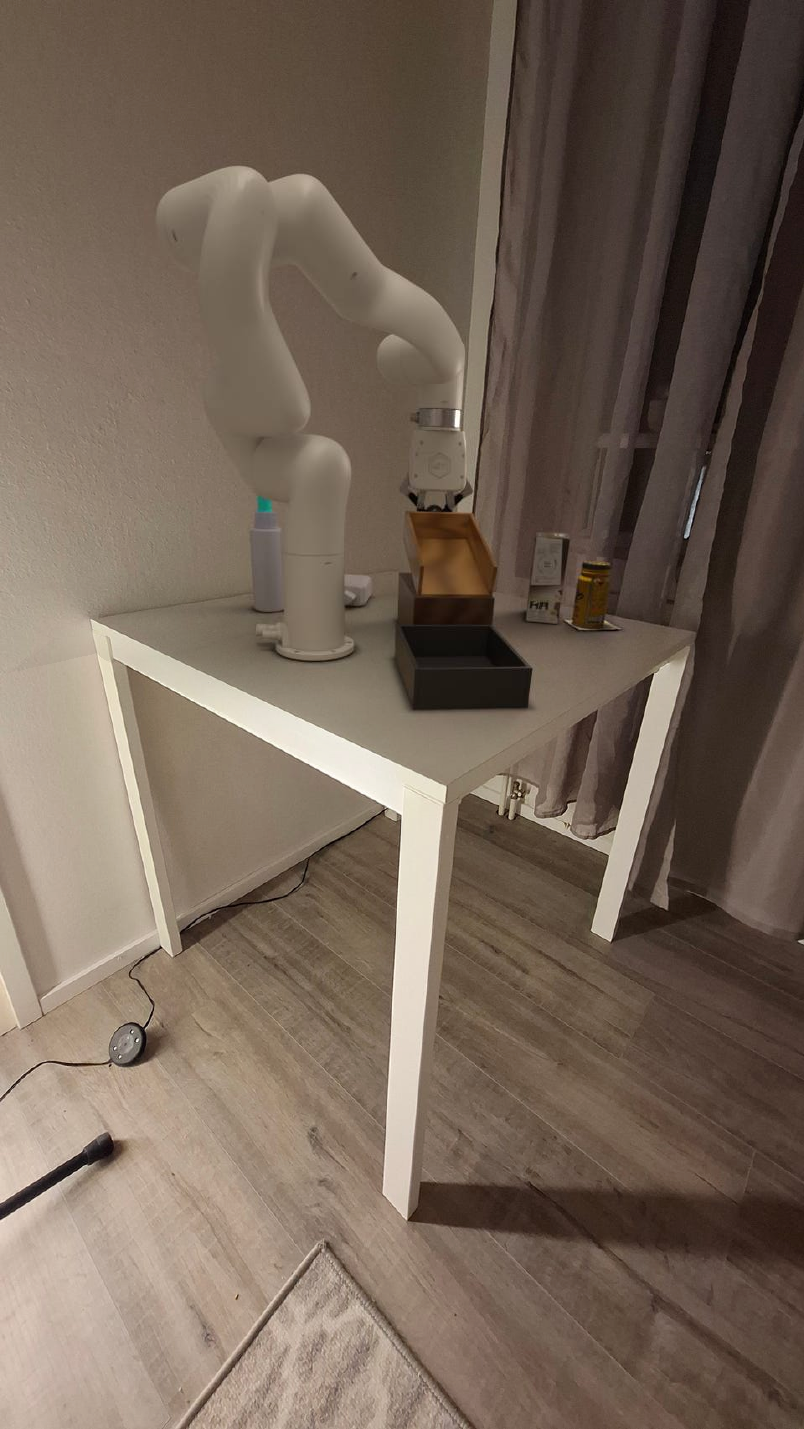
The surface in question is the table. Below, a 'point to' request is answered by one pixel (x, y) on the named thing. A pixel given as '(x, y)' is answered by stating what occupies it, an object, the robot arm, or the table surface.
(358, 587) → the charger
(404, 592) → the stand
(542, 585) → the coffee box
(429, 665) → the basket
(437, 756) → the table surface
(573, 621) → the condiment
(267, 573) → the spray bottle
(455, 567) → the pour box
